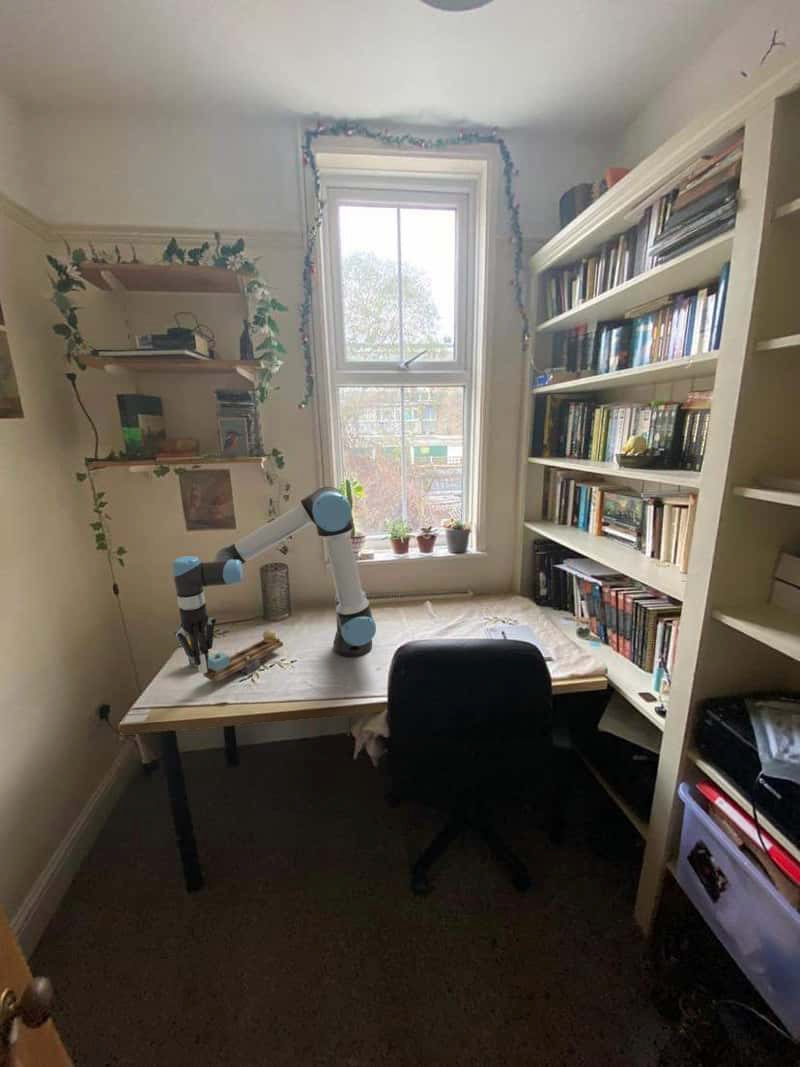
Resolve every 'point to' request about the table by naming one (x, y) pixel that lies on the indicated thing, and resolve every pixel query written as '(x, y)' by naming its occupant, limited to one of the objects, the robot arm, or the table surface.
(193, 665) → the crayon box
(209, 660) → the rider
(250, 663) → the beam
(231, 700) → the table surface
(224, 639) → the table surface
